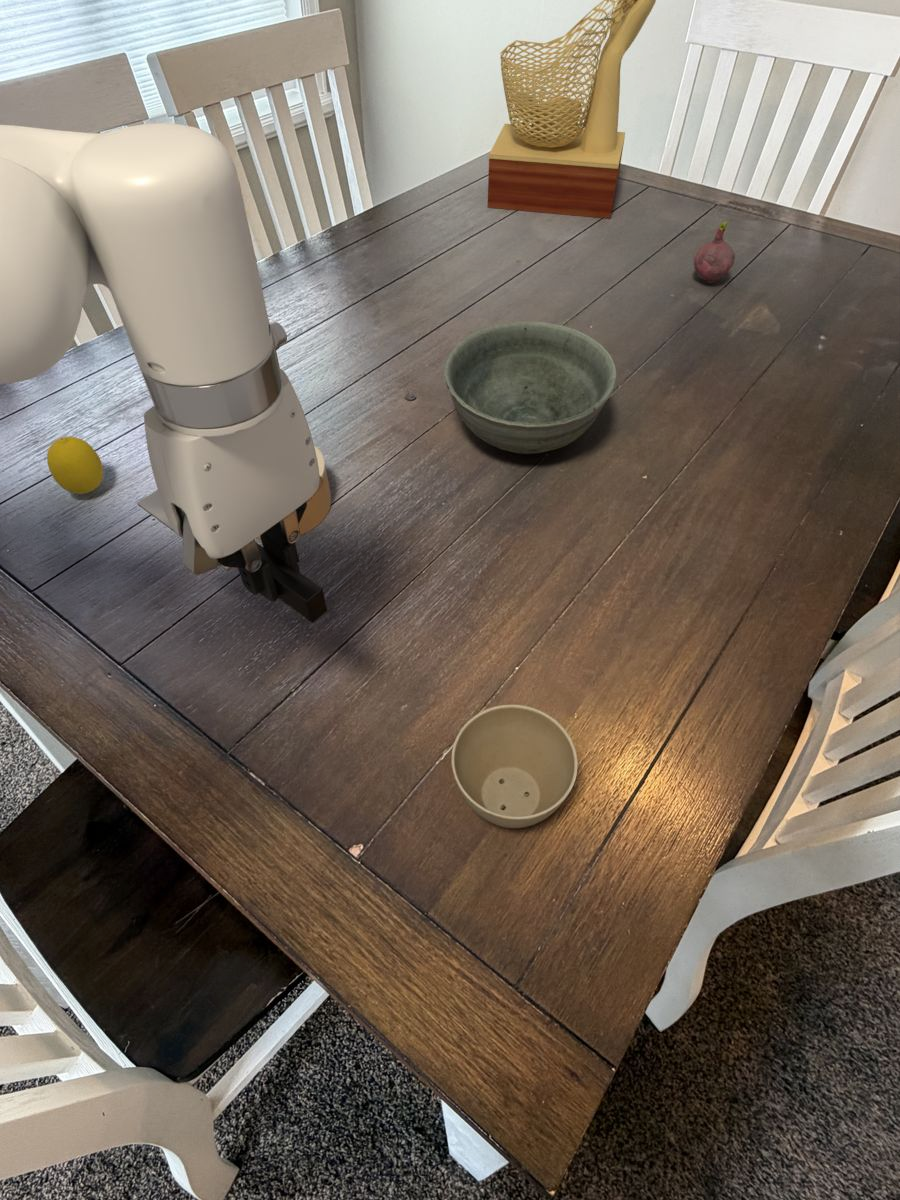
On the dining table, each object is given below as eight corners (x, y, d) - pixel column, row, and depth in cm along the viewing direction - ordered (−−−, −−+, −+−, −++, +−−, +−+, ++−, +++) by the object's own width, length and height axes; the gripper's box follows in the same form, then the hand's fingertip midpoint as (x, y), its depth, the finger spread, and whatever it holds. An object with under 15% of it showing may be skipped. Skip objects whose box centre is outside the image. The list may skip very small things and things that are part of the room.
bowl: (626, 412, 98) (641, 345, 90) (567, 508, 86) (577, 440, 79) (488, 371, 104) (490, 305, 97) (415, 455, 93) (411, 388, 85)
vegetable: (683, 286, 119) (699, 223, 112) (696, 270, 123) (712, 208, 115) (719, 296, 117) (738, 232, 110) (731, 280, 121) (750, 217, 113)
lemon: (56, 504, 87) (26, 451, 81) (79, 474, 91) (51, 421, 85) (99, 509, 87) (72, 456, 81) (120, 479, 90) (95, 426, 84)
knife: (305, 629, 54) (299, 607, 52) (137, 505, 63) (127, 482, 61) (334, 605, 56) (329, 582, 54) (166, 487, 64) (157, 464, 62)
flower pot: (510, 725, 68) (515, 683, 62) (591, 801, 63) (604, 763, 58) (428, 791, 64) (425, 752, 58) (507, 878, 59) (513, 845, 53)
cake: (208, 510, 87) (193, 467, 82) (283, 458, 92) (273, 416, 87) (278, 556, 82) (266, 514, 77) (352, 498, 88) (345, 456, 83)
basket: (626, 184, 145) (664, -48, 118) (618, 223, 134) (659, -24, 107) (502, 173, 149) (513, -54, 122) (485, 211, 138) (493, -30, 111)
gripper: (273, 302, 48) (315, 508, 62) (58, 415, 40) (161, 620, 55) (354, 342, 45) (379, 548, 59) (138, 472, 37) (226, 673, 51)
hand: (274, 581), depth 57 cm, fingers closed on knife
